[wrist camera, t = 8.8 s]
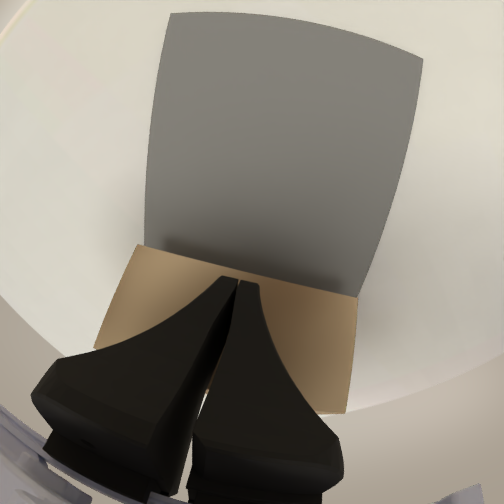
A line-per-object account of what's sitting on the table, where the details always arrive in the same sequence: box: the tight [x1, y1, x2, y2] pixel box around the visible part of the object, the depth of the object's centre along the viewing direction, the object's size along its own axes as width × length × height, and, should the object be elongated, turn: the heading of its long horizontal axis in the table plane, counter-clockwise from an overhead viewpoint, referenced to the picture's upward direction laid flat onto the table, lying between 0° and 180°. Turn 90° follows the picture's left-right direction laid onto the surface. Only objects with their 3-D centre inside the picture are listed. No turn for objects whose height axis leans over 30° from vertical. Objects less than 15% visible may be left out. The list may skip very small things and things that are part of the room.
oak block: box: [93, 244, 358, 414], centre depth 13 cm, size 10×5×5 cm
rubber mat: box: [144, 12, 423, 298], centre depth 14 cm, size 12×21×1 cm, turn 170°
